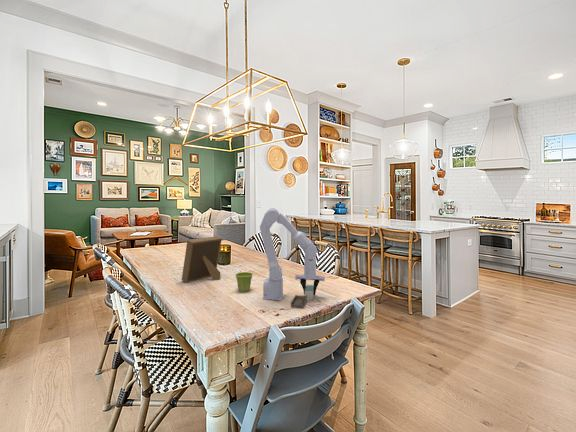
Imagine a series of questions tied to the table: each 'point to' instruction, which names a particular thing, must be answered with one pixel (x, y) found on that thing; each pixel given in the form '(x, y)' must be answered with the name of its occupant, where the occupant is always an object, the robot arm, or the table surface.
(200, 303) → the table surface
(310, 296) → the teal rectangular brick
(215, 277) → the photo frame
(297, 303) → the grey rectangular tray
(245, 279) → the plant pot
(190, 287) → the table surface
